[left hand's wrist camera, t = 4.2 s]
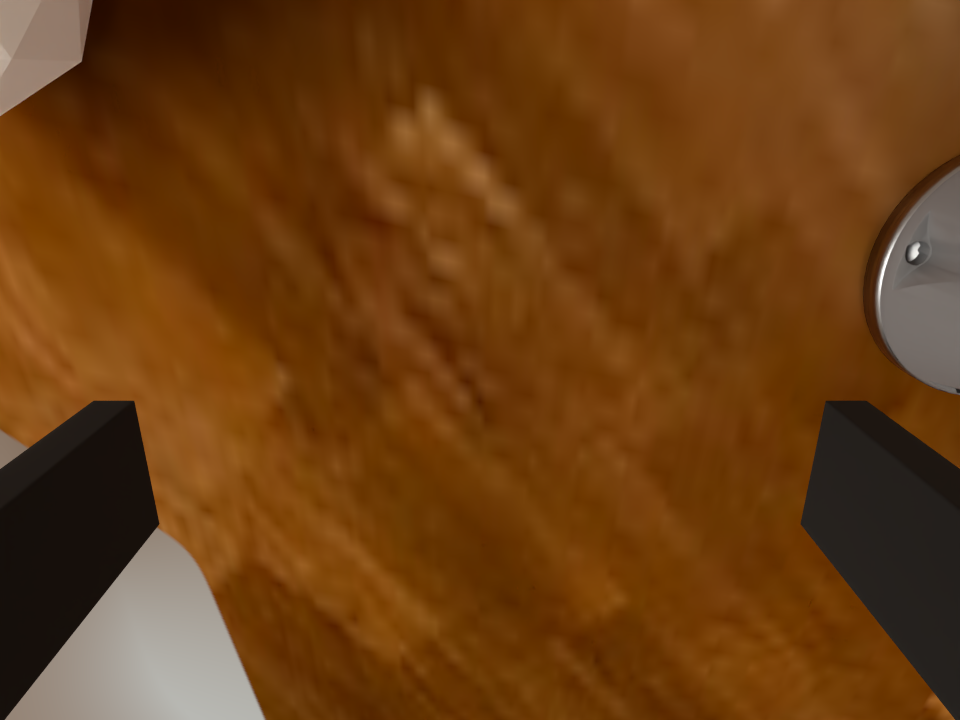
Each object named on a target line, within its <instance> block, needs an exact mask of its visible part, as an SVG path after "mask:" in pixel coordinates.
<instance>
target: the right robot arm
mask: <svg viewBox="0 0 960 720" xmlns="http://www.w3.org/2000/svg"><path fill="white" fill-rule="evenodd" d="M863 302H864V311H865V316H866V320H867V324H868V327H869V330H870V333H871V335H872V337H873V339H874V341H875V342H876V344H877V345H878V347H879V349H880V350H881V351H882V352H883V354H884V355H885V356H886V357H887V358H888V359H889V360H890V361H891V362H892V363H893V364H894V365H896V366H897V367H898V368H900V369H901V370H903V371H904V372H906V373H908V374H909V375H911V376H913V377H914V378H916V379H918V380H919V381H921V382H923V383H925V384H926V385H928V386H931V387H933V388H935V389H938V390H941V391H944V392H948V393H952V394H958V395H960V156H958V157H956V158H954V159H952V160H950V161H948V162H947V163H945V164H944V165H942V166H940V167H939V168H937V169H936V170H935V171H933V172H932V173H931V174H929V175H928V176H927V177H926V178H924V179H923V180H922V181H921V182H920V183H918V184H917V185H916V186H915V187H914V188H913V189H912V190H911V191H910V192H909V193H908V194H907V195H906V196H905V198H904V199H903V200H902V201H901V202H900V203H899V204H898V206H897V207H896V208H895V210H894V211H893V212H892V214H891V215H890V217H889V218H888V220H887V221H886V223H885V225H884V226H883V228H882V229H881V231H880V233H879V235H878V237H877V239H876V241H875V244H874V246H873V249H872V251H871V254H870V257H869V261H868V264H867V268H866V273H865V278H864V288H863Z"/></svg>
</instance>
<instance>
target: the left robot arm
mask: <svg viewBox="0 0 960 720" xmlns="http://www.w3.org/2000/svg"><path fill="white" fill-rule="evenodd" d="M158 525H159V520H158V515H157V510H156V505H155V500H154V495H153V491H152V486H151V481H150V476H149V471H148V466H147V461H146V456H145V452H144V447H143V442H142V437H141V432H140V427H139V422H138V417H137V412H136V408H135V403H134V401H93V402H91V403H90V404H89V405H87V406H86V407H85V408H83V409H82V410H81V411H79V412H78V413H76V414H75V415H74V416H72V417H71V418H70V419H68V420H67V421H65V422H64V423H63V424H61V425H60V426H59V427H57V428H56V429H55V430H53V431H52V432H50V433H49V434H48V435H46V436H45V437H44V438H42V439H41V440H39V441H38V442H37V443H35V444H34V445H33V446H31V447H30V448H29V449H27V450H26V451H24V452H23V453H22V454H20V455H19V456H18V457H16V458H15V459H13V460H12V461H11V462H9V463H8V464H7V465H5V466H4V467H3V468H1V469H0V720H5V719H6V717H7V716H8V715H9V713H10V712H11V711H12V710H13V708H14V707H15V706H16V705H17V703H18V702H19V701H20V700H21V698H22V697H23V696H24V695H25V693H26V692H27V691H28V689H29V688H30V687H31V686H32V684H33V683H34V682H35V681H36V679H37V678H38V677H39V676H40V674H41V673H42V672H43V671H44V669H45V668H46V667H47V665H48V664H49V663H50V662H51V660H52V659H53V658H54V657H55V655H56V654H57V653H58V652H59V650H60V649H61V648H62V646H63V645H64V644H65V643H66V641H67V640H68V639H69V638H70V636H71V635H72V634H73V632H74V631H75V630H76V629H77V628H78V626H79V625H80V624H81V622H82V621H83V620H84V619H85V617H86V616H87V615H88V614H89V612H90V611H91V610H92V609H93V607H94V606H95V605H96V604H97V602H98V601H99V600H100V598H101V597H102V596H103V595H104V593H105V592H106V591H107V590H108V588H109V587H110V586H111V585H112V583H113V582H114V581H115V580H116V578H117V577H118V576H119V574H120V573H121V572H122V571H123V569H124V568H125V567H126V566H127V564H128V563H129V562H130V561H131V559H132V558H133V557H134V555H135V554H136V553H137V552H138V550H139V549H140V548H141V547H142V545H143V544H144V543H145V541H146V540H147V539H148V538H149V537H150V535H151V534H152V533H153V531H154V530H155V529H156V528H157V526H158ZM801 525H802V526H803V528H804V529H805V530H806V531H807V533H808V534H809V535H810V537H811V538H812V539H813V540H814V542H815V543H816V544H817V545H818V547H819V548H820V549H821V550H822V552H823V553H824V554H825V555H826V557H827V558H828V559H829V561H830V562H831V563H832V564H833V566H834V567H835V568H836V569H837V571H838V572H839V573H840V574H841V576H842V577H843V578H844V580H845V581H846V582H847V583H848V585H849V586H850V587H851V588H852V590H853V591H854V592H855V593H856V595H857V596H858V597H859V598H860V600H861V601H862V602H863V604H864V605H865V606H866V607H867V609H868V610H869V611H870V612H871V614H872V615H873V616H874V617H875V619H876V620H877V621H878V622H879V624H880V625H881V626H882V628H883V629H884V630H885V631H886V633H887V634H888V635H889V636H890V638H891V639H892V640H893V641H894V643H895V644H896V645H897V646H898V648H899V649H900V650H901V652H902V653H903V654H904V655H905V657H906V658H907V659H908V660H909V662H910V663H911V664H912V665H913V667H914V668H915V669H916V671H917V672H918V673H919V674H920V676H921V677H922V678H923V679H924V681H925V682H926V683H927V684H928V686H929V687H930V688H931V689H932V691H933V692H934V693H935V695H936V696H937V697H938V698H939V700H940V701H941V702H942V703H943V705H944V706H945V707H946V708H947V710H948V711H949V712H950V713H951V715H952V716H953V717H954V719H955V720H960V469H959V468H958V467H956V466H955V465H953V464H952V463H951V462H949V461H948V460H947V459H945V458H944V457H942V456H941V455H940V454H938V453H937V452H936V451H934V450H933V449H931V448H930V447H929V446H927V445H926V444H925V443H923V442H922V441H921V440H919V439H918V438H916V437H915V436H914V435H912V434H911V433H910V432H908V431H907V430H905V429H904V428H903V427H901V426H900V425H899V424H897V423H896V422H895V421H893V420H892V419H890V418H889V417H888V416H886V415H885V414H884V413H882V412H881V411H879V410H878V409H877V408H875V407H874V406H873V405H871V404H870V403H868V402H867V401H826V403H825V408H824V412H823V417H822V422H821V427H820V432H819V437H818V442H817V447H816V452H815V456H814V461H813V466H812V471H811V476H810V481H809V486H808V491H807V495H806V500H805V505H804V510H803V515H802V520H801Z"/></svg>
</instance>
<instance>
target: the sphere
mask: <svg viewBox="0 0 960 720" xmlns="http://www.w3.org/2000/svg"><path fill="white" fill-rule="evenodd" d="M92 1H93V0H0V116H1V115H2V114H4V113H5V112H7V111H8V110H10V109H11V108H13V107H14V106H16V105H17V104H19V103H20V102H22V101H23V100H25V99H26V98H28V97H29V96H31V95H32V94H34V93H35V92H37V91H38V90H40V89H41V88H43V87H44V86H46V85H47V84H49V83H50V82H52V81H53V80H55V79H56V78H58V77H59V76H61V75H62V74H64V73H65V72H67V71H68V70H70V69H71V68H73V67H74V66H76V65H77V64H79V63H80V62H82V57H83V51H84V46H85V40H86V34H87V29H88V23H89V18H90V12H91V7H92Z"/></svg>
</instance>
